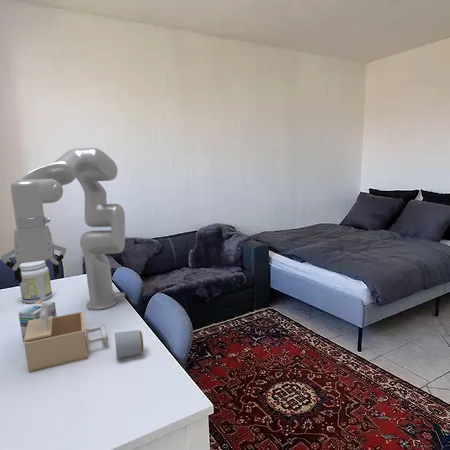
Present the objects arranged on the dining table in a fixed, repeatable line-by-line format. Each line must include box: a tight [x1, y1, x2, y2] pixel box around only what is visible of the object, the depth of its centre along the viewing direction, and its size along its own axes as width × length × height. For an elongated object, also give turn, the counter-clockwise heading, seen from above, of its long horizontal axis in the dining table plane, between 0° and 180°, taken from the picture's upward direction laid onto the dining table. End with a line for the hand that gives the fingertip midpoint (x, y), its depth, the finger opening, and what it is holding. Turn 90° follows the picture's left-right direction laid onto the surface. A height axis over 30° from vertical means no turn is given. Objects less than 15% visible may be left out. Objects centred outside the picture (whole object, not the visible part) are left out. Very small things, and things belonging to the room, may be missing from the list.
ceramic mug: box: [114, 329, 144, 360], centre depth 112 cm, size 11×8×8 cm
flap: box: [24, 303, 53, 341], centre depth 110 cm, size 7×14×6 cm, turn 23°
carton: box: [23, 311, 109, 373], centre depth 115 cm, size 23×16×9 cm
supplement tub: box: [19, 260, 53, 304], centre depth 161 cm, size 12×12×17 cm
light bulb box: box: [18, 300, 58, 343], centre depth 126 cm, size 11×7×11 cm, turn 168°
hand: (38, 279), depth 109 cm, fingers open, 9 cm apart
